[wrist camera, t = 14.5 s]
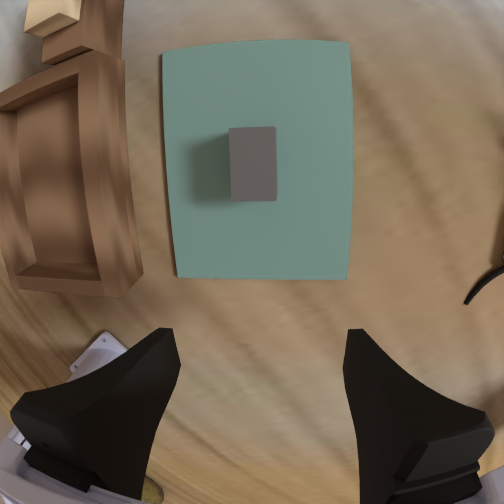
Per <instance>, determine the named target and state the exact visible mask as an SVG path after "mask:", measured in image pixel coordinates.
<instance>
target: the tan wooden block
mask: <svg viewBox="0 0 504 504" xmlns="http://www.w3.org/2000/svg"><path fill="white" fill-rule="evenodd" d="M81 1H82V0H29V3H28V8H27V14H26V19H25V25H24V32H25V33H29V34H33V35H37V36H41V37H45V36H47V35H49V34H51V33H53V32H55V31H57V30H59V29H61V28H63V27H66V26H68V25H70V24H72V23H75V22H77V21H79V16H80V8H81Z"/></svg>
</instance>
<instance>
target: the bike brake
mask: <svg viewBox="0 0 504 504" xmlns="http://www.w3.org/2000/svg"><path fill="white" fill-rule="evenodd" d="M503 259H504V255H503ZM502 273H504V266H502V267H500V268H498V269H496V270H495V271H493V272H492V273H490V274H489V275H488V276H486V277H485V278H484V279H483V280H481V281H480V282H479V283H478V284H477V285H476V286H475V287H474V289H473V290H472V291H471V292H470V294H469V295H468V296H467V298H466V300H465V302H464V303H465V304H466V305H468V304H469V303H470V301H471V300H472V299H473V297H474V296H475V295H476V294H477V293H478V292H479V291H480V290H481V289H482V288H483V287H484V286H485V285H486V284H487V283H489V282H490V281H491V280H492V279H494V278H495V277H497V276H499V275H500V274H502Z"/></svg>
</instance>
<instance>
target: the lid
mask: <svg viewBox="0 0 504 504" xmlns="http://www.w3.org/2000/svg"><path fill="white" fill-rule="evenodd" d="M162 69H163V116H164V138H165V155H166V170H167V183H168V195H169V206H170V216H171V225H172V235H173V243H174V252H175V260H176V267H177V275H178V278H216V279H288V280H347V273H348V262H349V250H350V236H351V220H352V199H353V157H354V139H353V98H352V78H351V63H350V50H349V42H338V41H322V40H257V41H241V42H229V43H219V44H210V45H202V46H195V47H188V48H182V49H176V50H171V51H165V52H163V57H162Z"/></svg>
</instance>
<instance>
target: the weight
mask: <svg viewBox="0 0 504 504" xmlns="http://www.w3.org/2000/svg"><path fill="white" fill-rule="evenodd" d="M163 500H164V493H163V490H162V488H161V487H159V486H158V485H157V484H156V483H155V482H154V481H153V480H151V479H149V478H148V477H146V476H145V479H144V484H143V491H142V498H141V501H143V502H147V503H151V504H161V503H162V502H163Z"/></svg>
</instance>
